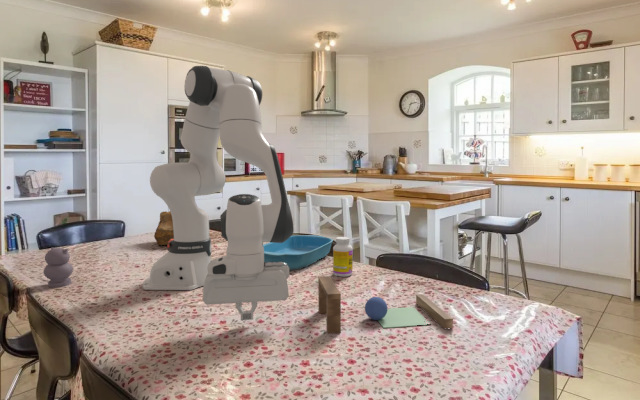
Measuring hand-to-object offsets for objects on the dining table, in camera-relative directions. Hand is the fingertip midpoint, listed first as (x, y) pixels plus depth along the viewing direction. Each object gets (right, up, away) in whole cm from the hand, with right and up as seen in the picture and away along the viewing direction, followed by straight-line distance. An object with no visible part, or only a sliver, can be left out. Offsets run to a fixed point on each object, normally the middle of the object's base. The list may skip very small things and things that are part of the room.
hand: (247, 319), depth 103 cm
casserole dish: (+8, +5, +66) cm, 67 cm away
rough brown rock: (-51, +8, +97) cm, 110 cm away
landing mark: (+38, -1, +5) cm, 38 cm away
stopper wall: (+47, -1, +6) cm, 47 cm away
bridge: (+20, -1, +3) cm, 20 cm away
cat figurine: (-67, +1, +35) cm, 75 cm away
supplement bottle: (+25, +3, +44) cm, 51 cm away
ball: (+32, +2, +4) cm, 32 cm away
